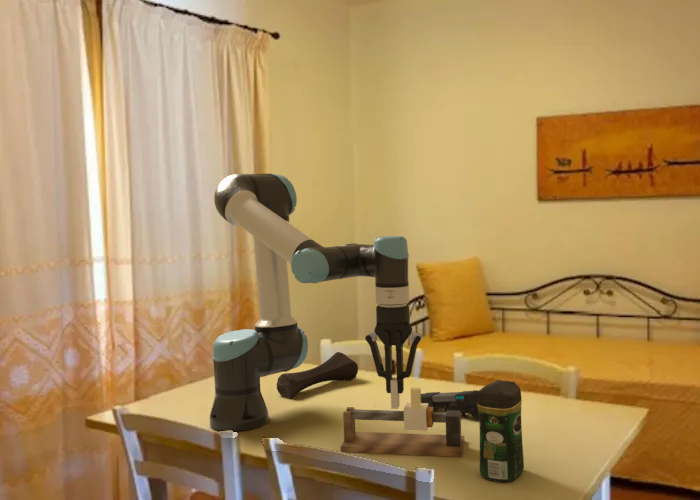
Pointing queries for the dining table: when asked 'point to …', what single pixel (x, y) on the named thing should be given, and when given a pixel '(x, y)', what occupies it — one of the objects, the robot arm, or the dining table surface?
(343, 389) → the dining table surface
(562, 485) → the dining table surface
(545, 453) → the dining table surface
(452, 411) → the slider rail stand
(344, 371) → the dark brown bone
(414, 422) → the sleeve
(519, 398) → the coffee jar
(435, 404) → the gun
